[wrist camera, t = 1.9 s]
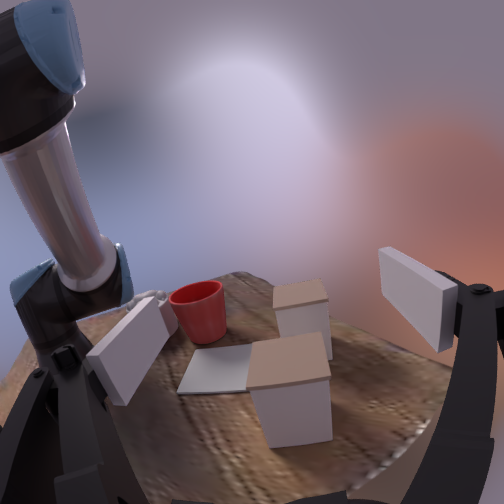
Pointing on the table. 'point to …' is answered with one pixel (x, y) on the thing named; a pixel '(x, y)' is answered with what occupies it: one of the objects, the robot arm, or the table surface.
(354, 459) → the table surface
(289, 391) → the cover canister
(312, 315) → the empty canister
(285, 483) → the table surface
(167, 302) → the lumpy-topped squat cylinder
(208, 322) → the flower pot
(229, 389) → the felt mat
